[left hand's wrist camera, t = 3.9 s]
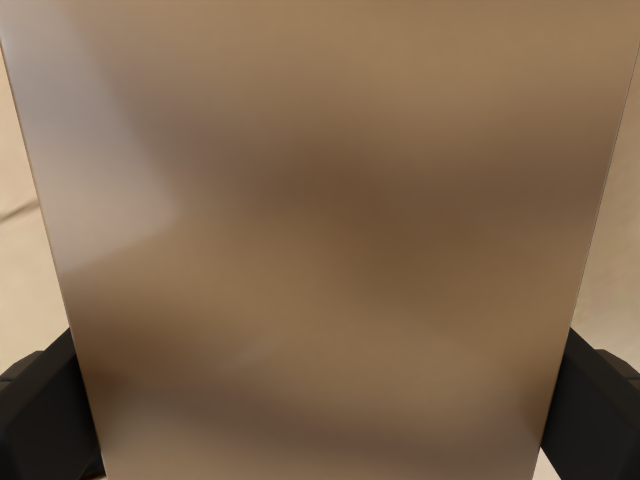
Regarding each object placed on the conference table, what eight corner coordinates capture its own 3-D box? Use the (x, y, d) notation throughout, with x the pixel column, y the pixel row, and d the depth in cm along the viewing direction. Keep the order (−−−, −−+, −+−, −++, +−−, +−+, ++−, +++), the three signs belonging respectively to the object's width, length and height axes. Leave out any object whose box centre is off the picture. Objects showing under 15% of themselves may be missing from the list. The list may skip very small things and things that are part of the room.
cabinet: (171, -172, 14) (-242, -909, 4) (468, -172, 14) (881, -909, 4) (218, 311, 20) (117, 528, 10) (421, 311, 20) (521, 528, 10)
